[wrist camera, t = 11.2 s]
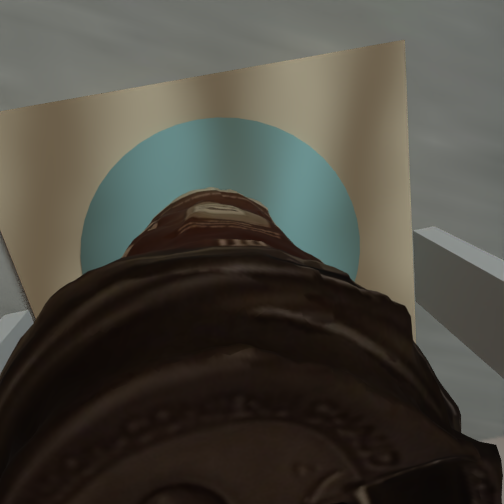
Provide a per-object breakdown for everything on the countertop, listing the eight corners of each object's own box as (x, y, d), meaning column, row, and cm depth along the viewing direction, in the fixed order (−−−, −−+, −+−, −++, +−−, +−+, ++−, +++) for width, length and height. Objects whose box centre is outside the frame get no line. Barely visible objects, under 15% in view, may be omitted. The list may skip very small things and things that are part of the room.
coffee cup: (346, 206, 18) (682, 426, 5) (272, 365, 20) (392, 777, 8) (147, 128, 16) (-35, 200, 3) (89, 315, 18) (-149, 766, 6)
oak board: (390, 44, 17) (407, 39, 16) (405, 349, 22) (418, 364, 21) (-28, 118, 16) (-48, 119, 15) (89, 420, 21) (82, 441, 20)
